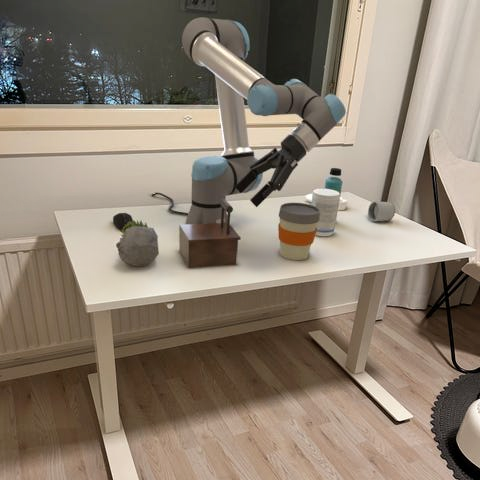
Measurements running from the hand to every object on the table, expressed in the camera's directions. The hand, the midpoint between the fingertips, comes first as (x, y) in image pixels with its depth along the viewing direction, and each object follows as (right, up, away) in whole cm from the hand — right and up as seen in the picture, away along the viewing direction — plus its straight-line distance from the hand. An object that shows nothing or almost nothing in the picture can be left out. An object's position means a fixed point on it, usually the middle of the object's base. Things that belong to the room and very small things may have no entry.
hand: (245, 196), depth 139 cm
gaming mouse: (-41, -4, +24) cm, 48 cm away
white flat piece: (+35, +13, +65) cm, 75 cm away
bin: (-11, -17, +6) cm, 21 cm away
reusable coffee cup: (+16, -15, +14) cm, 26 cm away
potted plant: (-32, -19, +1) cm, 37 cm away
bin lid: (-11, -10, +2) cm, 15 cm away
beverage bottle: (+32, +2, +44) cm, 55 cm away
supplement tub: (+28, -4, +33) cm, 43 cm away
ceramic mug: (+53, +4, +51) cm, 74 cm away
